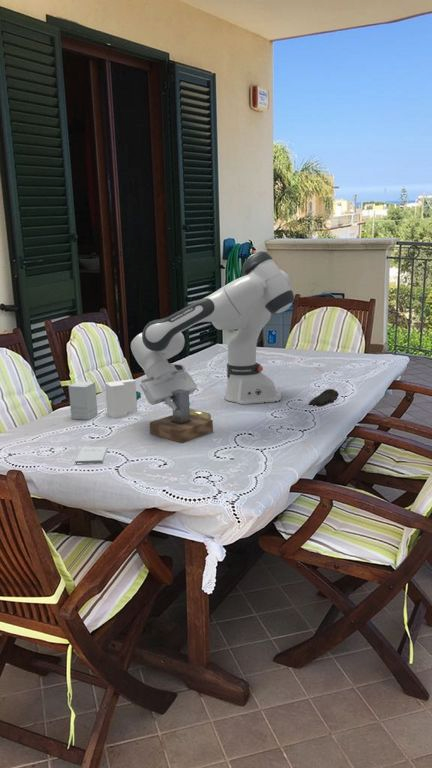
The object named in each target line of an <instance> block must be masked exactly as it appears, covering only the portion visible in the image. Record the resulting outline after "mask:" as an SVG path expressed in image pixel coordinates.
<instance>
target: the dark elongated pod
mask: <svg viewBox="0 0 432 768" xmlns="http://www.w3.org/2000/svg"><path fill="white" fill-rule="evenodd" d="M339 394H340V393H339V392H338V390H336V389H334V388H327V389H325V390H324V391H322V392H321V393H319V395H317V396H315V397H314V398H312V399H311V400H310V401H309V403H308V406H310V405H313V406H312V407H315V405H316V407H318V408H319V407H322V406H323V407H324V406H325V405H326V404H329V402H330V404H333V403H334V402H335V401H337V399H338V395H339ZM339 396H340V395H339ZM334 400H335V401H334Z"/></svg>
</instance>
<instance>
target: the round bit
mask: <svg viewBox="0 0 432 768" xmlns="http://www.w3.org/2000/svg"><path fill="white" fill-rule="evenodd" d="M190 414H191V415H194V416H198V417H202V418H206V419H210V420H212V415H211V414H210V413H209V412H205V411H201V410H198V409H194V408H190Z"/></svg>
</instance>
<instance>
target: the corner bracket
mask: <svg viewBox="0 0 432 768" xmlns="http://www.w3.org/2000/svg"><path fill="white" fill-rule="evenodd" d="M104 384H105V385H104V387H105V401H106V413H107V415H109V416H110V418H112V419H117V418H122V417H123V418H124V417H127V416H128V415H127V414H131V413H137V412H138V399H137V398H136V391H137V383H136V380H135V379H133V378H130V379H122V380H116V381H115V380H114V381H109V382H105V383H104Z"/></svg>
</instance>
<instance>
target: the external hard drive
mask: <svg viewBox="0 0 432 768" xmlns="http://www.w3.org/2000/svg"><path fill="white" fill-rule="evenodd" d="M107 449H108V446H107V445H106V446H83V447H81V448H80V449H79V453H78V454H77V457H76V458H75V461H74V464H75V463H76V464H75V465H78V464H77V463H102V464H103V463H104V461H105V458H106V455H107V453H108V450H107ZM106 452H107V453H106ZM105 454H106V455H105ZM104 457H105V458H104ZM103 460H104V461H103Z"/></svg>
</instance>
